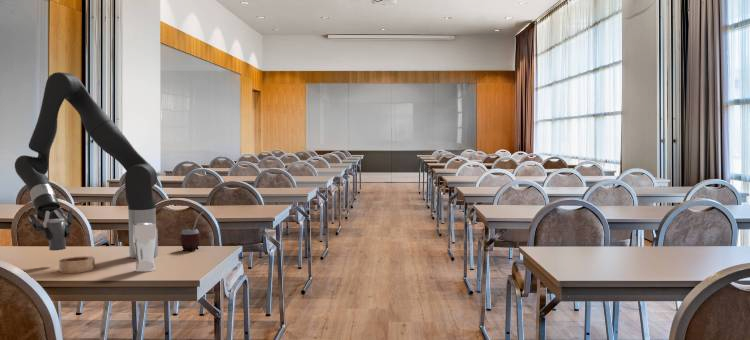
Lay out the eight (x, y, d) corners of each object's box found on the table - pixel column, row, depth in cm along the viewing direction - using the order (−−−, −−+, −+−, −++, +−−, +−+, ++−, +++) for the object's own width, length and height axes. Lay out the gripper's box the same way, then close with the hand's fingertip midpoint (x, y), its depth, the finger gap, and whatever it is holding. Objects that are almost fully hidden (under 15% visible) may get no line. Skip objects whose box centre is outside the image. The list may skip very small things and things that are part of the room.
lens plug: (67, 247, 211) (66, 218, 210) (63, 249, 206) (61, 220, 205) (52, 248, 210) (50, 219, 209) (47, 250, 205) (45, 220, 205)
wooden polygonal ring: (97, 266, 206) (97, 255, 206) (89, 272, 196) (89, 261, 196) (65, 267, 204) (65, 257, 204) (55, 273, 194) (55, 262, 194)
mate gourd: (178, 250, 235) (177, 211, 235) (198, 247, 240) (197, 209, 239) (185, 252, 229) (184, 212, 229) (205, 250, 234) (204, 211, 233)
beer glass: (134, 273, 194) (132, 225, 193) (133, 269, 200) (132, 223, 199) (157, 271, 197) (156, 224, 196) (156, 267, 203) (154, 221, 202)
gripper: (23, 194, 207) (37, 232, 199) (68, 190, 217) (83, 227, 210) (19, 209, 211) (33, 247, 203) (64, 205, 221) (78, 241, 214)
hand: (58, 237), depth 207 cm, fingers closed on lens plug, 5 cm apart
